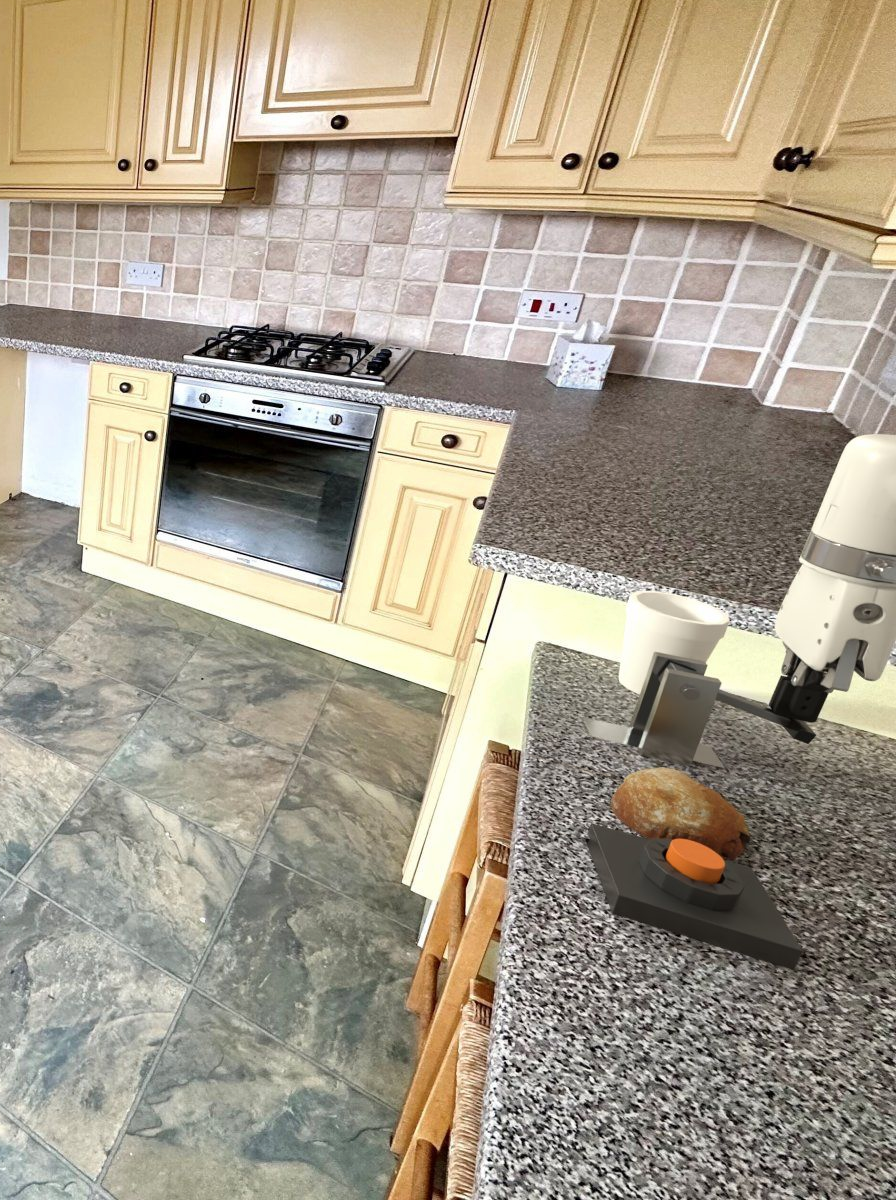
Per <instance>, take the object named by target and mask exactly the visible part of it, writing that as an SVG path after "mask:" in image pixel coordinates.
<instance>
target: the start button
mask: <svg viewBox="0 0 896 1200" xmlns="http://www.w3.org/2000/svg"><path fill="white" fill-rule="evenodd" d="M665 858H666V861H667V863H668V864H669V865H671V866H672V867H673V868H674V869H675V870H677V871H678V872H680V873H682V874H684V875H686V876H688V877H690V878H692V879H695V880H698V881H702V882H705V883H709V884H715V883H717V882H719V880H720V877H721V875H722V872H723V870H724V868H725V862H724V860H725V859H724V860H723V859H722V858H721V856H719V855H718V854H717V853H716V852H714V851H713V850H711V849H710V848H708V847H706V846H704V845H702V844H700V843H697V842H694V841H691V840H687V839H674V840H672V841H671V843H670V846H669V849H668V851H667V854H666V857H665Z"/></svg>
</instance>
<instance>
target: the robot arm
mask: <svg viewBox="0 0 896 1200" xmlns="http://www.w3.org/2000/svg"><path fill="white" fill-rule="evenodd" d="M807 536H808V537H807V538H806V542H805V544H804V547H803V548H802V551H801V554H800V557H799V558H798V562H799V563H800V564H801V566H800V568H799V569H798V571H797V573H796V575H795V576H794V578H793V580H792V581H791V584H790V586H789V588H788V590H787V592H786V594H785V596H784V599H783V601H782V603H781V605H780V607H779V610H778V613H777V616H776V619H775V623H774V633H775V634H776V635H777V637H778V638H779V639H780V640H781V642H782V645H783V646H784V648H785V656H784V658H783V661H782V665H781V669H780V672H781V674H782V675H780V676H779V679H778V681H777V684H776V686H775V688H774V691H773V693H772V696H771V698H770V700H769V702H768V708H770V709H772V710H773V711H774V712H775V714H776V715H778V716H782V717H787V718H791V719H796V720H801V721H804V722H805V723H811V724H812V723H813V724H814V723H816V722H817V721H818V718H819V716H820V714H821V712H822V709H823V708H824V705H825V703H826V700H827V698H828V696H829V694H831V693H833V692H834V690H835V691H840V692H844V693H847V692H848V691H850V688H851V684H852V680H853V676H854V672H855V673H856V674H857V675H858V676H859V677H861V678H862V679H863V680H865V681H868V682H876V681H878V680H879V679H880V678H881V677H882V675H883V673H884V671H885V669H886V666H887V664H888V661H889V659H890V656H891V654H892V651H893V649H894V646H895V643H896V434H886V433H885V434H884V433H871V434H862V435H859V436H856V437H854V438H852V439H851V440H849V442H848V443H847V444H846V445H845V447H844V448H843V451H842V453H841V455H840V458H839V460H838V462H837V465H836V467H835V470H834V472H833V474H832V477H831V480H830V482H829V485H828V487H827V490H826V492H825V494H824V497H823V500H822V502H821V504H820V507H819V510H818V512H817V515H816V517H815V519H814V522H813V524H812V527H811V530H810V532H809V534H808V535H807Z"/></svg>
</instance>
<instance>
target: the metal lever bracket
mask: <svg viewBox="0 0 896 1200" xmlns="http://www.w3.org/2000/svg"><path fill="white" fill-rule="evenodd" d="M670 662H671V663H674V664H676V665H679V666H682V667H684V668H687V669H689V670H692V671H695V672H697V673H700V675H697V674H692V673H687V672H682V671H677V670H672V669H667V668H666V667H667V666H668V665H669V663H670ZM708 667H709V666H708V663H707V662H706V663H705V661H700V660H695V659H690V658H685V657H679V656H674V655H669V654H664V653H659V652H654V654H653V657H652V660H651V663H650V666H649V669H648V672H647V675H646V678H645V681H644V684H643V687H642V690H641V692H640V695H639V694H638V695H639V696H638V698H637V700H636V704H635V708H634V710H633V714H632V716H631V719H630V722H629V725H628V726H624V725H620V724H615V723H611V722H607V721H602V720H598V719H593V718H590V717H589V718H588V717H585V716H582V717H581V720H580V721H581V723H582V725H583V728H584V730H585V732H586V734H587V736H588V737H592V738H596V739H600V740H605V741H609V742H613V743H616V744H617V743H618V744H621V745H625V746H630V747H633V748H637V753H638V755H639V756H641V757H645V758H650V759H653V760H654V759H655V760H657V761H662V762H666V763H671V764H675V765H679V766H682V767H687V768H691V766H692V763H693V762H697V763H702V764H706V765H710V766H713V767H718V768H722V769H726V767H725V765H724V764H723V763H722V761H721V760H720V759H719V757H718V755H717V754H716V752H715V751H714V750H713V748H712V746H710V745H707V744H702V743H701V739H702V737H703V734H704V732H705V729H706V726H707V723H708V721H709V718H710V715H711V714H712V713H711V712H712V710H713V707H714V705H715V702H716V701H717V700H716V697H717V694H718V692H719V689H720V690H721V687H722V683H723V682H722V681H721V679H719V678H717V677H712V676H707V675H705V674H706V671H707V668H708ZM665 669H666V670H665ZM664 670H665V672H664V675H663V678H662V681H661V682H660V681H659V679H658V678H659V677H660V675H661V674H662V673H663V671H664Z"/></svg>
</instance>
